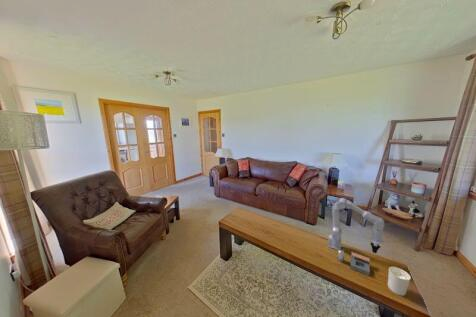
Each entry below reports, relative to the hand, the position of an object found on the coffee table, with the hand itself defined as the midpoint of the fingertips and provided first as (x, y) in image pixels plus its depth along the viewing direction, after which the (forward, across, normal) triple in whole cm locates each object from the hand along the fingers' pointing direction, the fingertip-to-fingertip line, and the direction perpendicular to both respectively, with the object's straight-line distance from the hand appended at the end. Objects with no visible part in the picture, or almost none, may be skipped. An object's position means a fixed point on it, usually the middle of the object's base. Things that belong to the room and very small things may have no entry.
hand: (374, 249), depth 124 cm
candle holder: (+10, -19, -13) cm, 25 cm away
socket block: (+10, -13, +7) cm, 18 cm away
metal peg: (+10, -16, +18) cm, 27 cm away
